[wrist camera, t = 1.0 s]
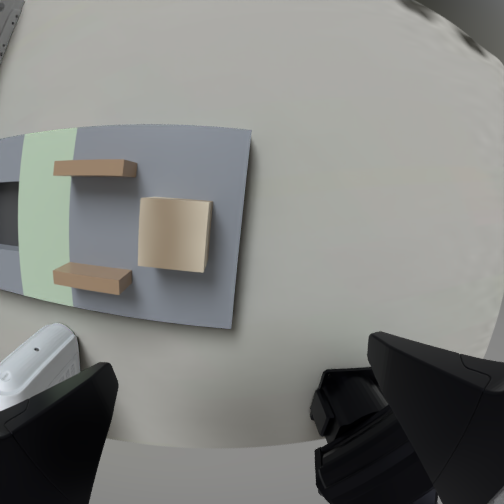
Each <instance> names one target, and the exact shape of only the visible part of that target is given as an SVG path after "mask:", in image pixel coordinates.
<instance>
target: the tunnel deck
mask: <svg viewBox="0 0 504 504" xmlns="http://www.w3.org/2000/svg"><path fill="white" fill-rule="evenodd" d="M251 132H252V130H245V129H235V128H224V127H211V126H194V125H162V124H137V125H107V126H91V127H79V128H68V129H59V130H51V131H44V132H37V133H30V134H24V135H18V136H13V137H8V138H3V139H0V289H2V290H6V291H9V292H13V293H17V294H21V295H24V296H28V297H32V298H37V299H41V300H45V301H49V302H54V303H58V304H63V305H67V306H72V307H77V308H82V309H87V310H92V311H98V312H103V313H109V314H115V315H121V316H127V317H133V318H140V319H147V320H154V321H161V322H169V323H177V324H186V325H195V326H204V327H214V328H226V329H231V325H232V314H233V304H234V293H235V283H236V272H237V262H238V252H239V242H240V232H241V223H242V213H243V204H244V194H245V185H246V176H247V167H248V158H249V149H250V140H251ZM145 197H166V198H180V199H194V200H206V201H213V208H212V218H211V229H210V241H209V254H208V262H207V264H206V267H205V270H204V273H201V272H191V271H181V270H172V269H162V268H153V267H144V266H138V236H139V215H140V200H141V198H145Z"/></svg>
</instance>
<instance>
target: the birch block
mask: <svg viewBox="0 0 504 504" xmlns="http://www.w3.org/2000/svg"><path fill="white" fill-rule="evenodd" d="M212 208H213V201H206V200H194V199H180V198H166V197H145V198H141V200H140V215H139V236H138V266H144V267H153V268H162V269H172V270H181V271H191V272H201V273H204V270H205V267H206V264H207V262H208V254H209V241H210V229H211V218H212Z"/></svg>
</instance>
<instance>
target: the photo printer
mask: <svg viewBox="0 0 504 504" xmlns="http://www.w3.org/2000/svg"><path fill="white" fill-rule="evenodd" d="M78 373H80V360H79V349H78V341H77V337H76V336H75V335H74V333H73V331H72V330H71V329H69V328H68V327H67V326H65V325H63V324H60V323H54V324H52V325H49V324H47V325H46V326H44V327H43V328H41V329H40V330H39V331H37V332H36V333H35V334H34V335H32V336H31V337H30V338H29V339H28V340H26V341H25V342H24V343H23V344H21V345H20V346H19V347H18V348H17V349H16V350H14V351H13V352H12V353H11V354H10V355H8V356H7V357H6V358H5V359H4V360H3V361H2V362H1V363H0V411H2V410H4V409H7V408H9V407H11V406H14V405H16V404H18V403H20V402H22V401H24V400H26V399H30V397H32V396H34V395H36V394H38V393H40V392H42V391H44V390H46V389H48V388H50V387H52V386H54V385H56V384H58V383H60V382H62V381H64V380H66V379H68V378H70V377H72V376H74V375H76V374H78Z"/></svg>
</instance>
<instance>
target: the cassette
mask: <svg viewBox="0 0 504 504" xmlns="http://www.w3.org/2000/svg"><path fill="white" fill-rule="evenodd" d="M24 2H25V1H24V0H0V64H1V62H2V59H3V56H4V53H5V50H6V47H7V45H8V42H9V39H10V37H11V34H12V32H13V29H14V27H15V25H16V22H17V20H18V18H19V16H20V13H21V8H22V6H23V4H24Z"/></svg>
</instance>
